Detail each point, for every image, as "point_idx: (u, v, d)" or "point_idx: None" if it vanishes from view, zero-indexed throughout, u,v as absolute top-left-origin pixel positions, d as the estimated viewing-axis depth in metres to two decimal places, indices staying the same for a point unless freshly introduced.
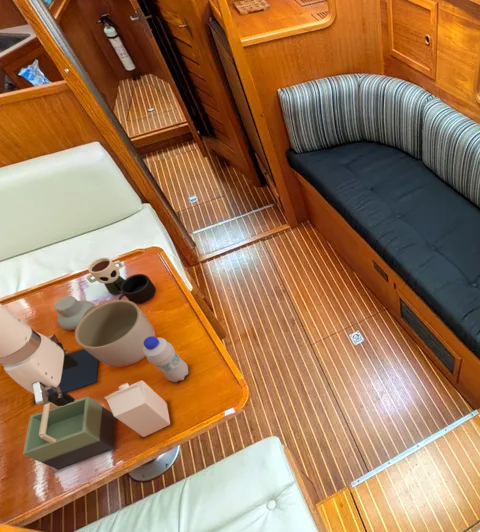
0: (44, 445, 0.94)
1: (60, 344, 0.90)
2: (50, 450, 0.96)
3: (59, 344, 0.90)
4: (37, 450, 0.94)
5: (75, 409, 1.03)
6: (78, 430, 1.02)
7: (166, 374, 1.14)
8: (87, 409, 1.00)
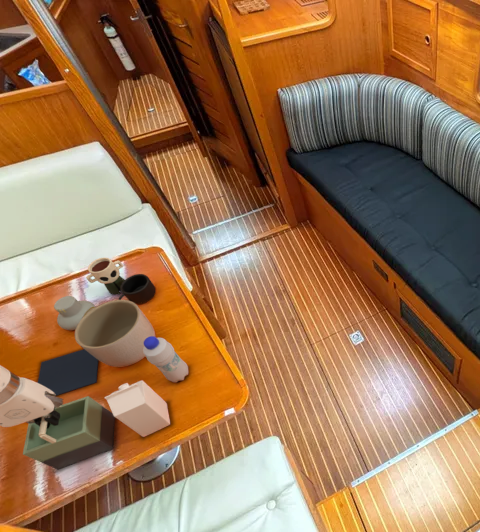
0: (44, 445, 0.94)
1: None
2: (50, 450, 0.96)
3: None
4: (37, 450, 0.94)
5: (75, 409, 1.03)
6: (78, 430, 1.02)
7: (166, 374, 1.14)
8: (87, 409, 1.00)
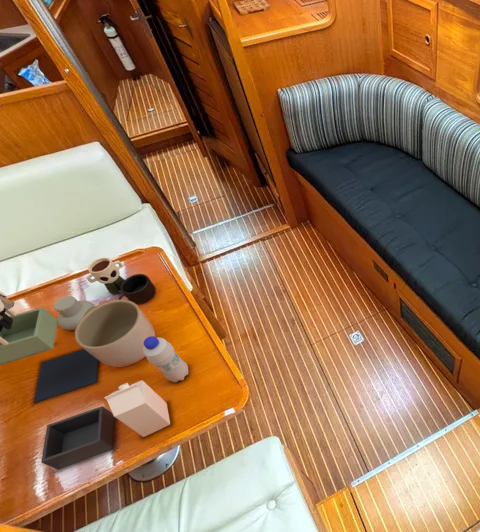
0: None
1: None
2: (3, 353, 1.00)
3: None
4: None
5: (30, 320, 1.07)
6: None
7: (166, 374, 1.14)
8: (40, 318, 1.04)
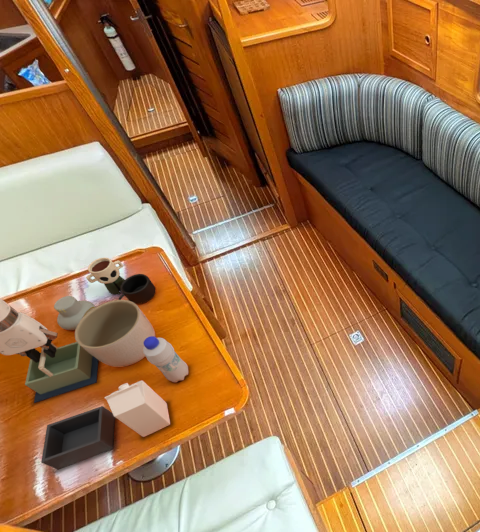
0: (43, 378, 1.12)
1: None
2: (48, 383, 1.14)
3: None
4: (37, 382, 1.12)
5: (69, 352, 1.21)
6: None
7: (166, 374, 1.14)
8: (79, 351, 1.18)
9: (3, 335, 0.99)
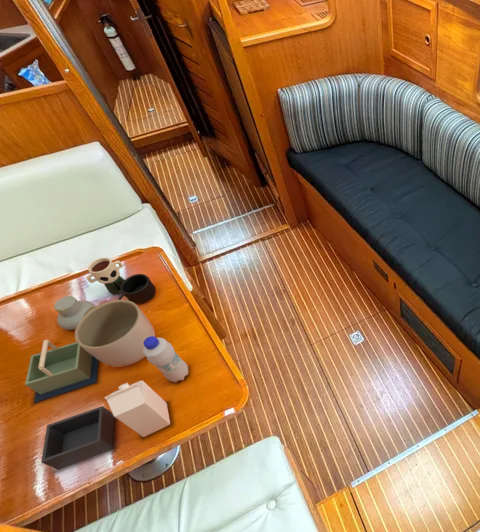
0: (43, 378, 1.12)
1: None
2: (48, 383, 1.14)
3: None
4: (37, 382, 1.12)
5: (69, 352, 1.21)
6: None
7: (166, 374, 1.14)
8: (79, 351, 1.18)
9: None
